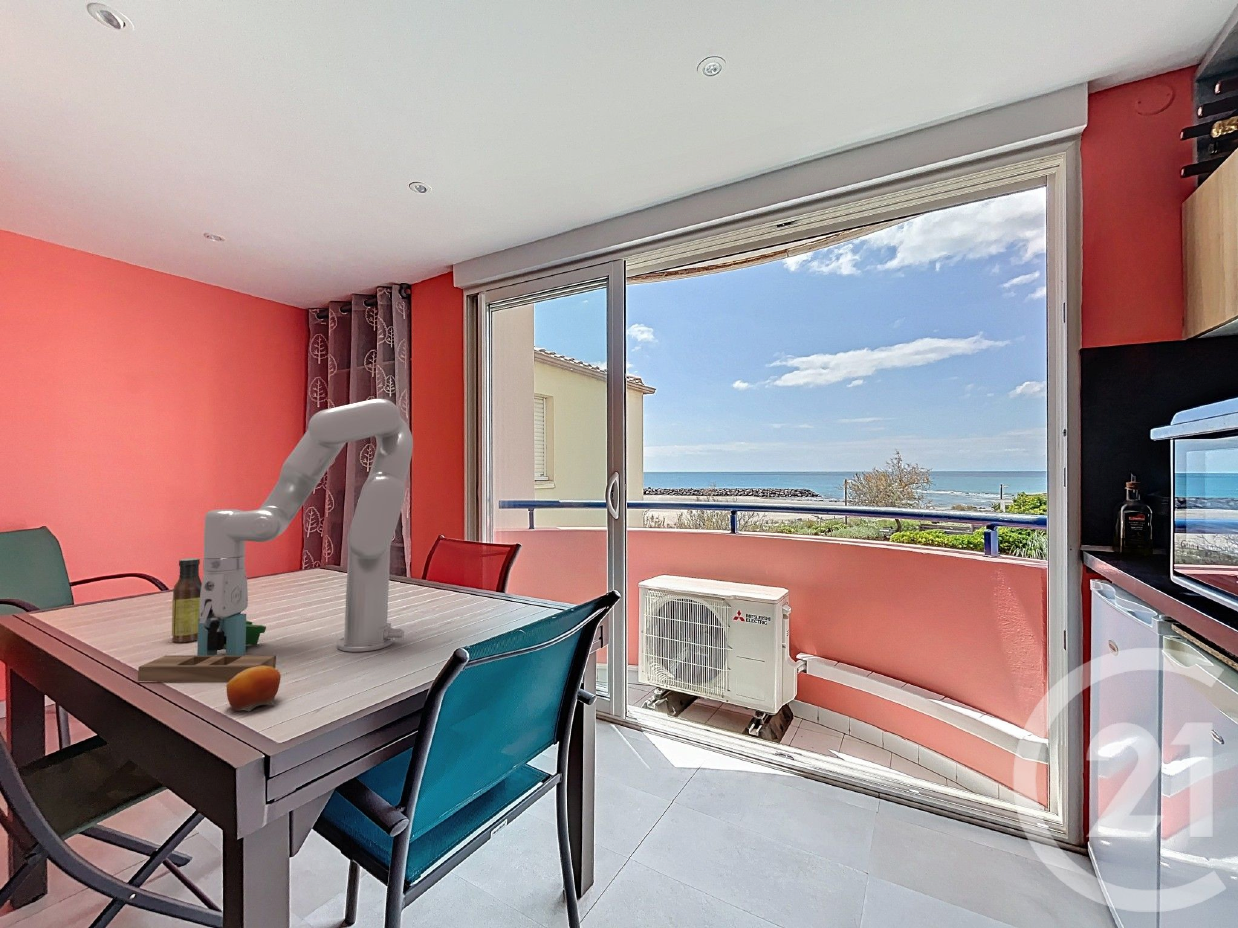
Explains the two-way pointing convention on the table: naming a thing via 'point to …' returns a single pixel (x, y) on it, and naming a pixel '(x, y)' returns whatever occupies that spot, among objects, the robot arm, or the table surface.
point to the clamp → (252, 633)
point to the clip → (232, 629)
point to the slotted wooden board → (201, 667)
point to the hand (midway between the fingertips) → (221, 645)
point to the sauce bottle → (186, 602)
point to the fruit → (253, 687)
